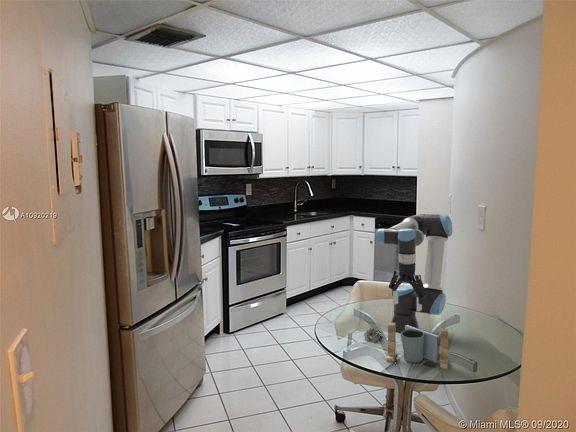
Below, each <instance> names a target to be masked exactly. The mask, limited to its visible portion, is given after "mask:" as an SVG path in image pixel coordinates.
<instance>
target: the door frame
mask: <svg viewBox="0 0 576 432" xmlns="http://www.w3.org/2000/svg"><path fill="white" fill-rule="evenodd" d="M396 332H397V331H396V323H391V322H390V321H389V322H388V324H387V356H386V362H391V363H394V361H395V360H396V356H397V350H396V345H397V344H396V337H397V336H396ZM439 362H440V363H439V368H440V369H442V370H448V366H449V328H445V327H441V328H440V361H439Z"/></svg>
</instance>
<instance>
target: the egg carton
mask: <svg viewBox="0 0 576 432" xmlns="http://www.w3.org/2000/svg"><path fill="white" fill-rule="evenodd" d="M378 331H379V332H380V333H378V334H377V333H376V332H378ZM382 333H383V330H380V329H376V328H372V327H369V328H368V329H367V330H366V331H365V332H363V336H364V340H365V341H372V342H373V343H374V342H378V341H379V340H380V338H381V337H380V335H381V336H382Z"/></svg>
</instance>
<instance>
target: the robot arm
mask: <svg viewBox="0 0 576 432" xmlns="http://www.w3.org/2000/svg"><path fill="white" fill-rule="evenodd" d="M451 236H453V224H452V220H451V217H450V216H449V215H447V214H441V213H439V214H436V213H434V214H433V213H431V214H429V213H427V214H425V213H420V214H415V215H410V216H408V217H407V218H405V219H403V220H402V221H401V222H400V223H398V224H396V225H393V226H391V227H390V228H379V229H377V230H376V233H375V240H376V243H378V244H380V245H381V244H382V245H391V246H398V269H396V270H393V275H392V277H391V280H390V283H389V285H388V289H391V297H392V304H393V315H392V318H391V323H396V332H398V333H401V332H402V331H404V330H405V326H406V325H409V326H412V327H414V328H417V329H420V328H419V327H420V325H419V321H418V319H417V316H416V313H421V314H425V315H426V314H427V315H434V316H439V315H441V314H442V313H443V311H444V308H445V306H446V301H447V296H446V294H445V293H444V292H443V291H444V290H443V288H442V287H441V282H442V281H441V280H442V271H443V264H444V263H443V260H444V251H445V243H446V242H447V241H448V240H449V238H450V237H451ZM425 239H426V240H427V249H426V257H425V266H424V276H423V277H424V278H423V281H422V275H421V274H415V272H416V247H418V246H420V245H421V244H422V243H423V242H424V240H425ZM402 283H406V284H409V285H403V286H401V284H402Z"/></svg>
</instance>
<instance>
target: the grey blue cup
mask: <svg viewBox="0 0 576 432" xmlns="http://www.w3.org/2000/svg"><path fill="white" fill-rule="evenodd" d="M420 330H421V329H420ZM420 330H415V329H408V330H404V331H402V332H400V334H401V335H400V336H401V344H402V350H403V351H402V353H403V358H404V360H405V361H406V362H409V363H413V364H414V363H421V362H422V361H423V360H424V358H423V349H424V345H423V344H424V333H423V332H422V331H420Z"/></svg>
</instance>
